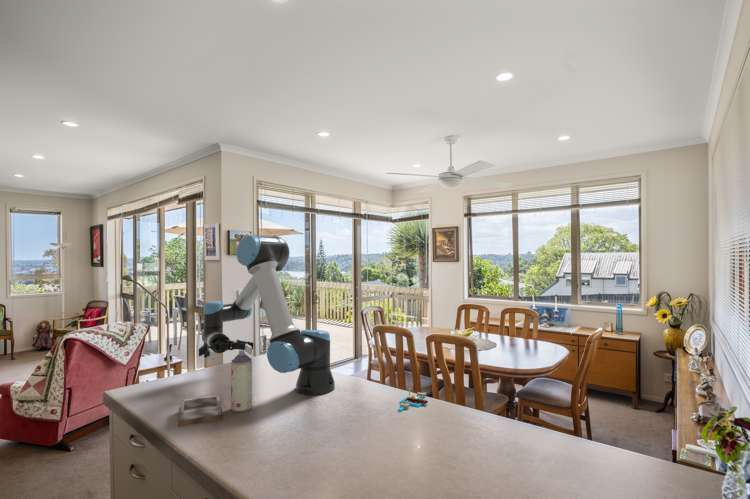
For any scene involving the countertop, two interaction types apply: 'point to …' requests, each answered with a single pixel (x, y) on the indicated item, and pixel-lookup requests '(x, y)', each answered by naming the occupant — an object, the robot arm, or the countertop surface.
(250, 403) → the aerosol can
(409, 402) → the toy boat
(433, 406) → the countertop surface
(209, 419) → the shallow tray
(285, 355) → the robot arm
